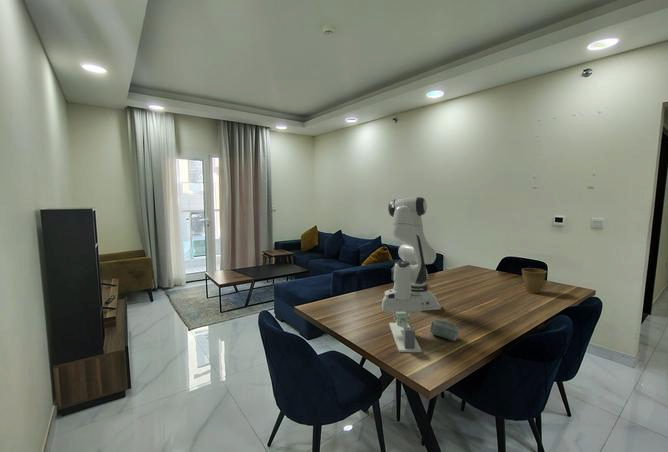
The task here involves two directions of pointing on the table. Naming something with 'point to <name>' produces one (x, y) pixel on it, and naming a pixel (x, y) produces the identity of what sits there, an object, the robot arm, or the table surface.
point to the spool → (444, 329)
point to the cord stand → (405, 337)
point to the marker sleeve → (401, 315)
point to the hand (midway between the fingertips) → (401, 319)
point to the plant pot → (533, 279)
